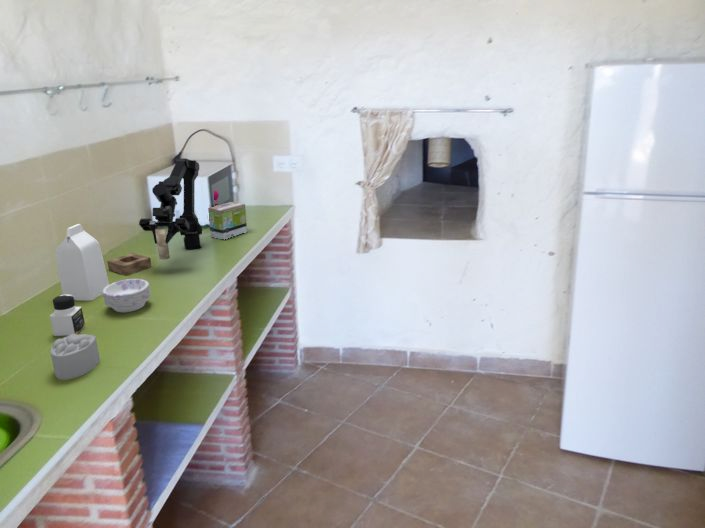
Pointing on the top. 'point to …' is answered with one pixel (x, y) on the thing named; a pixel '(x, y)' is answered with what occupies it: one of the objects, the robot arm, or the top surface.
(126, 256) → the brown rectangular frame
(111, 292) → the white patterned bowl
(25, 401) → the top surface
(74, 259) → the milk
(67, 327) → the medicine bottle
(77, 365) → the lumpy-topped squat cylinder
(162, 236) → the peg
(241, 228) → the tea box
